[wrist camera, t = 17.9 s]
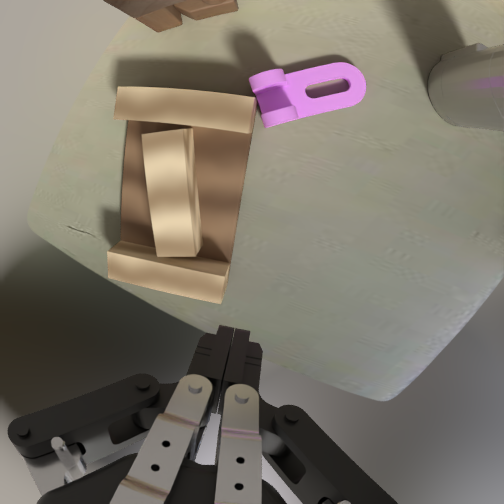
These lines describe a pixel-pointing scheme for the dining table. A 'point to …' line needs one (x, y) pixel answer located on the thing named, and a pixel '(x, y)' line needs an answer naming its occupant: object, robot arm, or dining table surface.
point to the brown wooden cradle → (208, 183)
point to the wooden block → (172, 10)
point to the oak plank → (173, 192)
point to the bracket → (293, 92)
